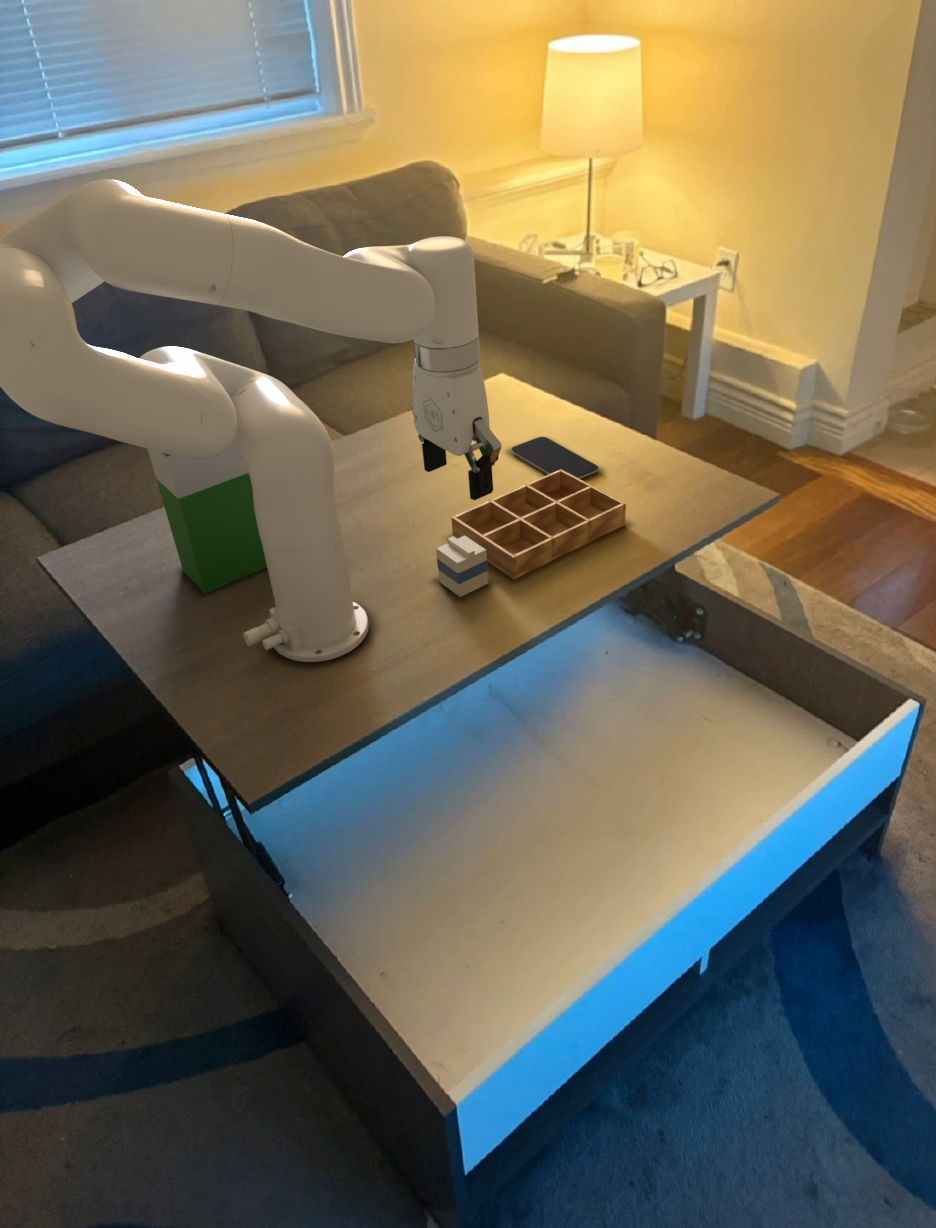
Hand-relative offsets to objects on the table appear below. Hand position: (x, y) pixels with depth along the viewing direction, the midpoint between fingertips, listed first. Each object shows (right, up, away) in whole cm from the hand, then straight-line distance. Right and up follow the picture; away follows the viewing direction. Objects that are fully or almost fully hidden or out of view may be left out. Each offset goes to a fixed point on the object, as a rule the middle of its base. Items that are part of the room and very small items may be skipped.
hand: (458, 481), depth 120 cm
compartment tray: (+12, -5, +18) cm, 22 cm away
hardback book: (-30, -9, +17) cm, 36 cm away
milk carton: (+1, -13, +9) cm, 15 cm away
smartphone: (+15, +8, +35) cm, 39 cm away
